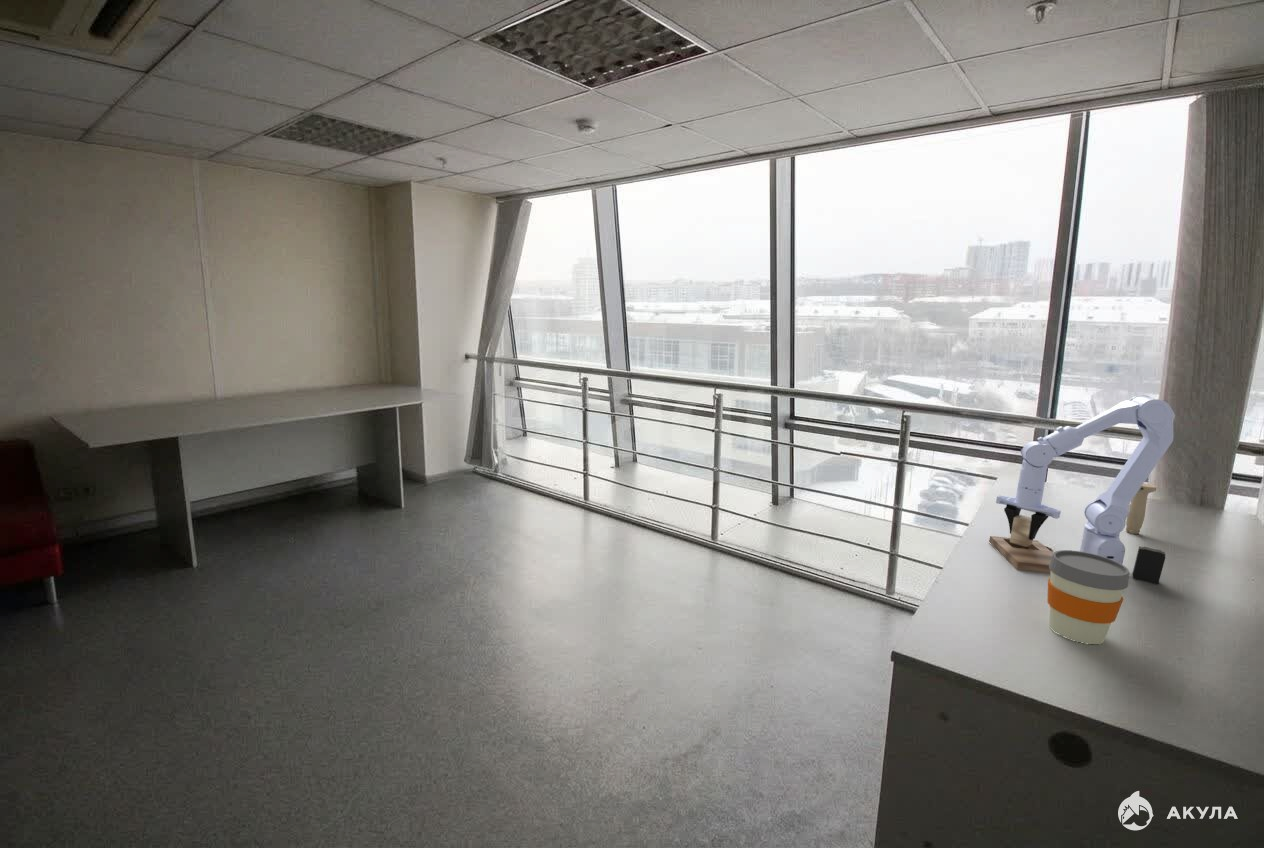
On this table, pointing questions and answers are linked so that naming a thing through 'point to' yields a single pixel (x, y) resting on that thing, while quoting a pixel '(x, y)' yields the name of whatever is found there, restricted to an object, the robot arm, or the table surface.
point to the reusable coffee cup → (1084, 594)
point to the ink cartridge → (1148, 565)
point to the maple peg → (1021, 531)
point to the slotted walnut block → (1024, 554)
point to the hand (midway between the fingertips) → (1022, 536)
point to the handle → (1138, 509)
